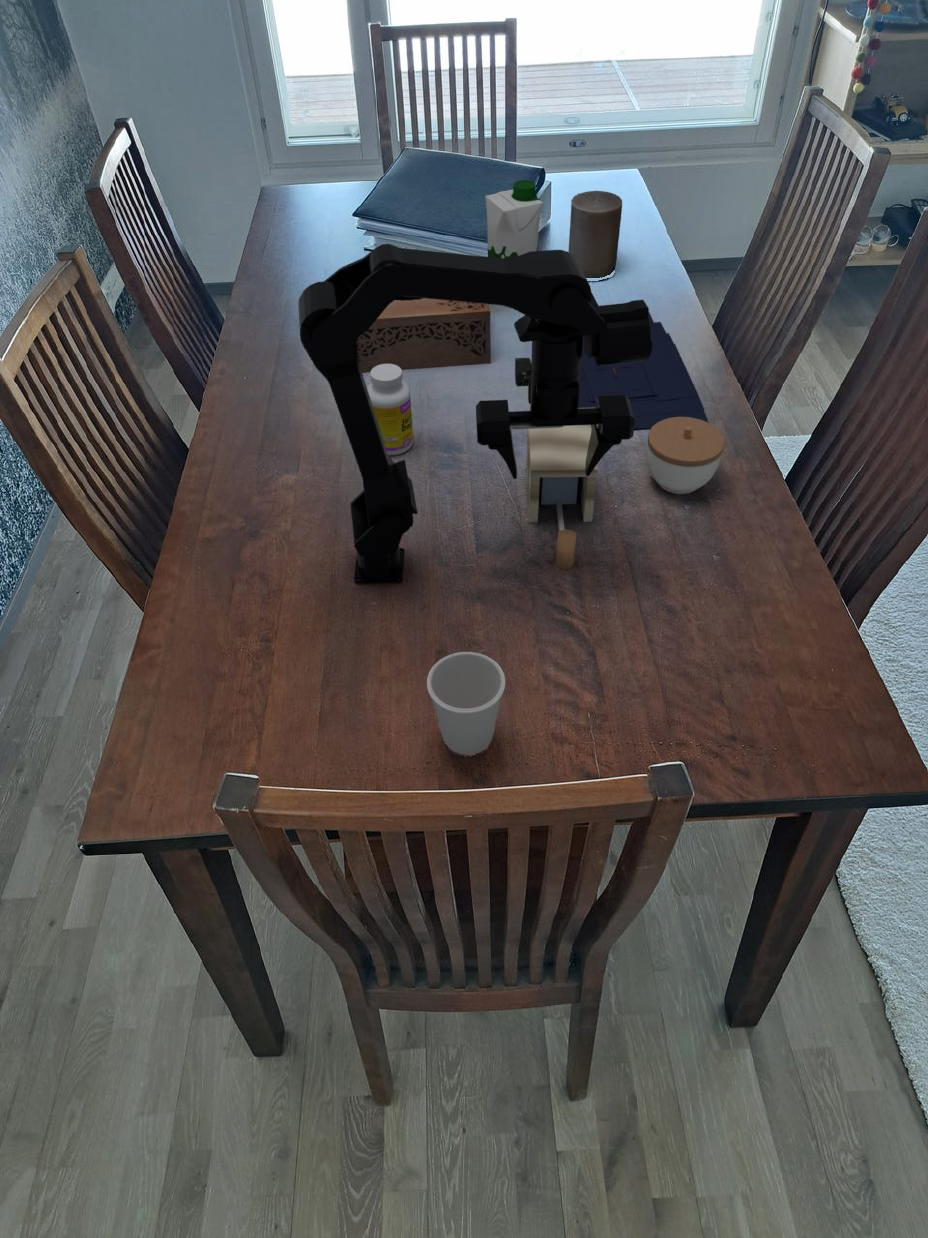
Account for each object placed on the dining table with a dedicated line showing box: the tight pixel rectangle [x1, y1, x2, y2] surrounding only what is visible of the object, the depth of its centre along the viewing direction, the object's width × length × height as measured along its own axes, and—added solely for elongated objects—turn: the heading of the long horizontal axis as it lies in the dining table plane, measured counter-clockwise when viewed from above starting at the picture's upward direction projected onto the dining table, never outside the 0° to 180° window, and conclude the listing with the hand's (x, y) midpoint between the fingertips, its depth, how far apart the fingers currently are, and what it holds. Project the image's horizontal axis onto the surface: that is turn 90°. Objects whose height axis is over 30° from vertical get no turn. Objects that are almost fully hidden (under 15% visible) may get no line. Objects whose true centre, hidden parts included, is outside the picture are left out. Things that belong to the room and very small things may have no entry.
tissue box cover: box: [356, 296, 491, 374], centre depth 159 cm, size 26×14×10 cm, turn 96°
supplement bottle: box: [367, 364, 414, 456], centre depth 138 cm, size 7×7×13 cm
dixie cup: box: [426, 651, 506, 755], centre depth 100 cm, size 8×8×10 cm
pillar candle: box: [567, 190, 623, 278], centre depth 175 cm, size 10×10×15 cm
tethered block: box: [539, 477, 579, 570], centre depth 127 cm, size 19×5×5 cm, turn 0°
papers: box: [578, 312, 710, 430], centre depth 153 cm, size 24×30×4 cm
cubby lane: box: [525, 425, 598, 523], centre depth 129 cm, size 11×9×9 cm
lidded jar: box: [646, 417, 726, 495], centre depth 131 cm, size 11×11×9 cm
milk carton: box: [485, 179, 544, 258], centre depth 168 cm, size 9×9×20 cm
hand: (550, 475), depth 116 cm, fingers open, 9 cm apart
